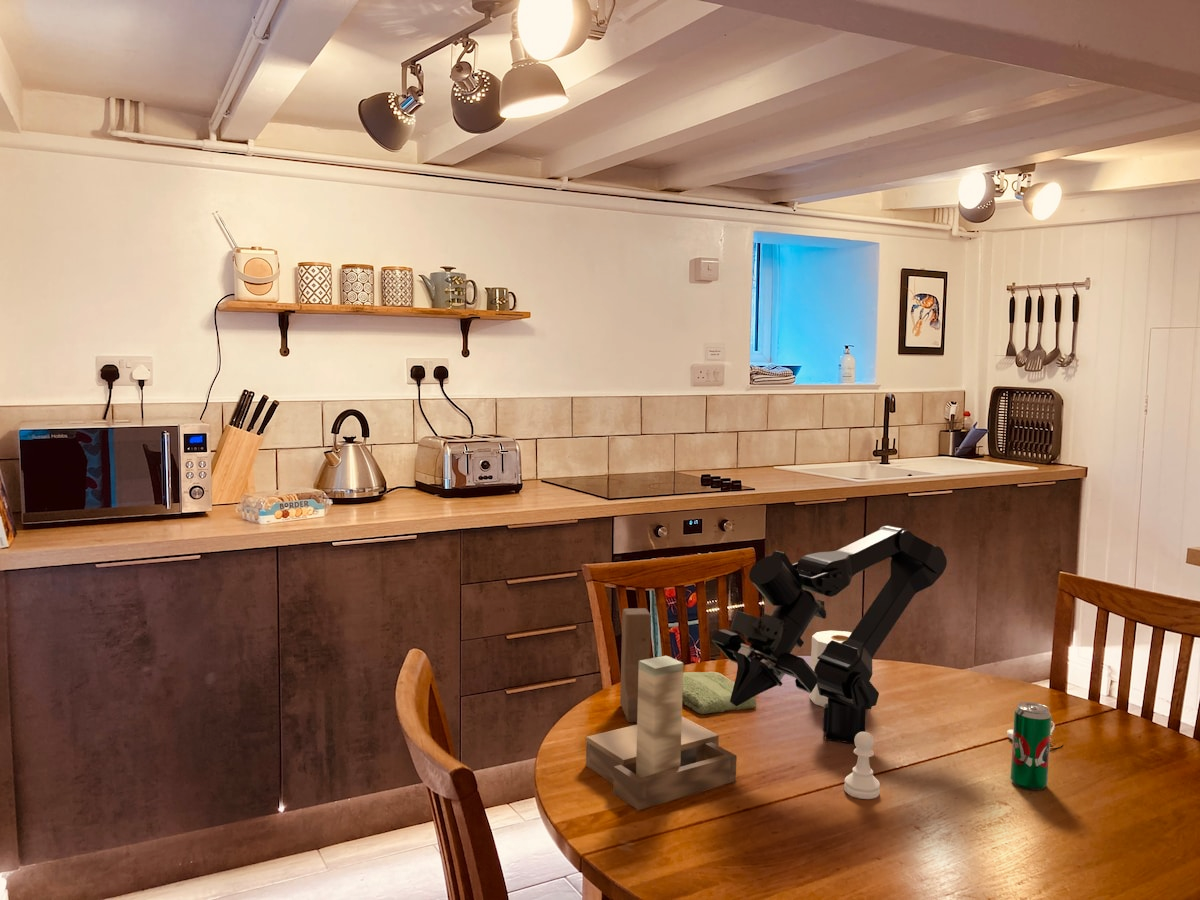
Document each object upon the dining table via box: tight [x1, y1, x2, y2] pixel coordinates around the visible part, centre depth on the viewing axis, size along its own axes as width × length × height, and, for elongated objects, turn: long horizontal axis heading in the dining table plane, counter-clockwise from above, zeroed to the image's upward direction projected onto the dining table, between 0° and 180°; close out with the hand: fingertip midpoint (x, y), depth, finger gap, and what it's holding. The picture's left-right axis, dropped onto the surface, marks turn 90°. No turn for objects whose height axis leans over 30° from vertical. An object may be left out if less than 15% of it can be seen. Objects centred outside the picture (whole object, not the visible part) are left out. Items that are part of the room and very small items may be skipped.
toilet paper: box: [809, 630, 852, 708], centre depth 175 cm, size 10×10×12 cm
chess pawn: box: [843, 731, 881, 800], centre depth 137 cm, size 5×5×9 cm
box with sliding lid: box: [585, 715, 737, 811], centre depth 142 cm, size 20×16×5 cm
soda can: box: [1010, 701, 1053, 791], centre depth 141 cm, size 5×5×12 cm
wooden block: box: [619, 607, 652, 724], centre depth 166 cm, size 9×4×18 cm, turn 7°
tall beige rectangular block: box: [636, 655, 684, 778], centre depth 136 cm, size 5×4×19 cm
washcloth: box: [682, 671, 758, 715], centre depth 176 cm, size 13×18×3 cm
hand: (733, 704), depth 144 cm, fingers closed
